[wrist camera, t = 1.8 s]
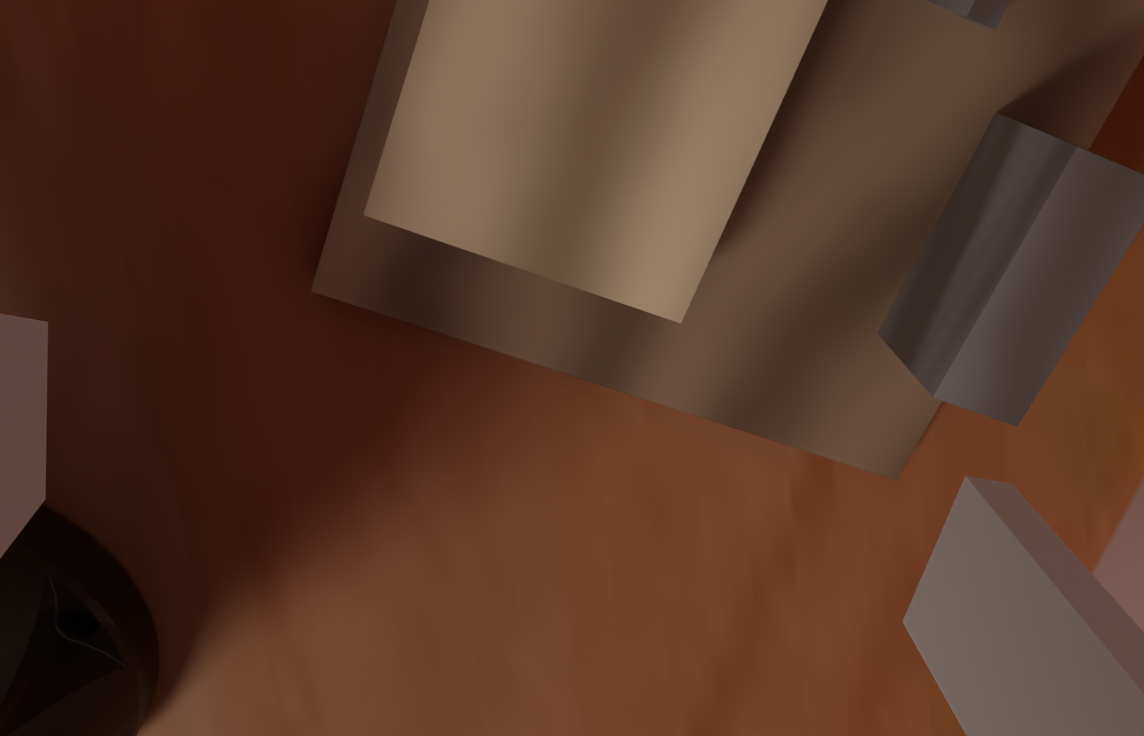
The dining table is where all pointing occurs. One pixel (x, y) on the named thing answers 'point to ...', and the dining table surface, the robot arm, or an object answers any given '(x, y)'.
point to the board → (832, 234)
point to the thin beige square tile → (588, 134)
